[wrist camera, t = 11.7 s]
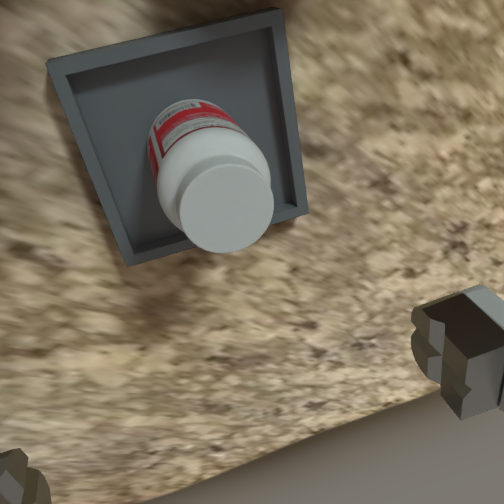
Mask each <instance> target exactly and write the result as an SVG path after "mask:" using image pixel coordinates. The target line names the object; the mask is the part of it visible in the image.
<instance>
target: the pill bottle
mask: <svg viewBox="0 0 504 504" xmlns="http://www.w3.org/2000/svg"><path fill="white" fill-rule="evenodd" d="M147 150H148V157H149V161H150V165H151V169H152V174H153V178H154V182H155V187H156V191H157V196H158V199H159V202H160V205H161V207H162V209H163V211H164V213H165V214H166V216H167V217H168V219H169V220H170V221H171V222H172V223H173V224H174V225H175V226H176V227H177V228H179V229H180V230H182V231H183V232H184V233H185V234H186V236H187V237H188V238H189V239H190V240H191V241H192V242H193V243H194V244H195V245H197V246H198V247H200V248H202V249H204V250H206V251H209V252H213V253H232V252H236V251H239V250H242V249H244V248H246V247H248V246H250V245H251V244H253V243H254V242H255V241H257V240H258V239H259V238H260V237H261V236H262V235H263V233H264V232H265V231H266V229H267V228H268V226H269V224H270V222H271V219H272V215H273V210H274V199H273V194H272V191H271V188H270V187H271V177H270V170H269V167H268V164H267V161H266V159H265V157H264V155H263V153H262V152H261V150H260V149H259V148H258V147H257V145H256V144H255V143H254V142H253V141H252V140H251V139H250V138H249V136H248V135H247V134H246V133H245V132H244V131H243V130H242V129H241V128H240V127H239V126H238V125H237V123H236V122H235V121H234V120H233V119H232V118H231V117H230V116H229V115H228V114H227V113H226V112H225V111H224V110H222V109H221V108H220V107H218V106H217V105H215V104H213V103H211V102H208V101H204V100H199V99H188V100H182V101H179V102H176V103H174V104H172V105H170V106H169V107H167V108H166V109H164V110H163V111H162V112H161V113H160V114H159V115H158V116H157V118H156V119H155V121H154V122H153V124H152V126H151V128H150V131H149V135H148V141H147Z"/></svg>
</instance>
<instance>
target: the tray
mask: <svg viewBox="0 0 504 504" xmlns="http://www.w3.org/2000/svg"><path fill="white" fill-rule="evenodd" d="M45 65H46V67H47V70H48V72H49V75H50V77H51V80H52V82H53V85H54V87H55V90H56V92H57V95H58V97H59V100H60V102H61V105H62V107H63V110H64V112H65V115H66V117H67V120H68V122H69V125H70V127H71V130H72V132H73V135H74V137H75V140H76V142H77V145H78V147H79V150H80V152H81V155H82V157H83V160H84V162H85V165H86V167H87V170H88V172H89V175H90V177H91V180H92V182H93V184H94V187H95V189H96V192H97V194H98V197H99V199H100V202H101V204H102V207H103V209H104V212H105V214H106V217H107V219H108V222H109V224H110V227H111V229H112V232H113V234H114V237H115V239H116V242H117V244H118V247H119V249H120V252H121V254H122V257H123V259H124V262H125V264H126V267H129V266H133V265H136V264H140V263H143V262H146V261H150V260H153V259H157V258H160V257H163V256H167V255H170V254H173V253H177V252H180V251H184V250H187V249H190V248H194V247H197V245H195V244H194V243H193V242H192V241H191V240H190V239H189V238H188V237H187V236H186V234H185V233H184V232H183V231H182V230H180V229H179V228H177V227H176V226H175V225H174V224H173V223H172V222H171V221H170V220H169V219H168V217H167V216H166V214H165V213H164V211H163V209H162V207H161V205H160V202H159V199H158V196H157V191H156V187H155V182H154V178H153V174H152V169H151V165H150V161H149V157H148V150H147V141H148V135H149V131H150V128H151V126H152V124H153V122H154V121H155V119H156V118H157V116H158V115H159V114H160V113H161V112H162V111H163V110H164V109H166V108H167V107H169V106H170V105H172V104H174V103H176V102H179V101H182V100H188V99H199V100H204V101H208V102H211V103H213V104H215V105H217V106H218V107H220V108H221V109H222V110H224V111H225V112H226V113H227V114H228V115H229V116H230V117H231V118H232V119H233V120H234V121H235V122H236V123H237V125H238V126H239V127H240V128H241V129H242V130H243V131H244V132H245V133H246V134H247V135H248V136H249V138H250V139H251V140H252V141H253V142H254V143H255V144H256V145H257V147H258V148H259V149H260V150H261V152H262V153H263V155H264V157H265V159H266V161H267V164H268V167H269V170H270V177H271V187H270V188H271V191H272V194H273V199H274V210H273V215H272V219H271V222H270V224H269V225H272V224H275V223H278V222H282V221H285V220H289V219H292V218H295V217H299V216H302V215H306V214H309V211H308V203H307V195H306V187H305V180H304V172H303V164H302V156H301V148H300V141H299V133H298V125H297V117H296V109H295V102H294V94H293V86H292V78H291V70H290V62H289V55H288V47H287V39H286V31H285V23H284V16H283V8H277V7H271V8H267V9H263V10H259V11H254V12H250V13H246V14H241V15H237V16H233V17H228V18H224V19H220V20H216V21H211V22H207V23H203V24H198V25H194V26H190V27H185V28H181V29H177V30H173V31H168V32H164V33H160V34H155V35H151V36H147V37H142V38H138V39H134V40H130V41H125V42H121V43H117V44H112V45H108V46H104V47H100V48H95V49H91V50H87V51H82V52H78V53H74V54H69V55H65V56H61V57H57V58H52V59H49V60H48V61H47V62H46V63H45Z"/></svg>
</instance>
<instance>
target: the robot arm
mask: <svg viewBox="0 0 504 504" xmlns="http://www.w3.org/2000/svg"><path fill="white" fill-rule="evenodd" d="M411 322H412V323H413V324H414V326H415V327H416V330H415V331H414V333H413V334H412V336H411V349H412V352H413V355H414V358H415V361H416V362H417V364H418V366H419V368H420V369H421V371H422V372H423V373H424V375H425V376H426V377H427V378H428V379H430V380H432V381H435V382H437V383H439V384H440V395H441V396H442V397H443V399H444V400H445V401H446V403H447V404H448V405H449V406H450V408H451V409H452V410H453V411H454V413H455V414H456V415H457V417H458V418H459V419H460V420H463V419H466V418H469V417H471V416H474V415H477V414H480V413H483V412H485V411H488V410H491V409H494V408H497V407H499V409H500V410H502V411H504V301H503V300H502V299H501V298H499V297H498V296H497V295H496V294H495V293H493V292H492V291H491V290H490V289H489V288H487V287H486V286H484V285H481V284H479V285H476V286H473V287H470V288H467V289H465V290H462V291H459V292H457V293H453V294H450V295H447V296H444V297H442V298H439V299H436V300H433V301H431V302H428V303H425V304H422V305H420V306H417V307H414V309H413V311H412V313H411ZM27 465H28V456H27V455H26V454H25V453H24V452H23V451H22V450H21V449H20V448H17V449H12V450H9V451H6V452H3V453H0V504H52V502H51V495H50V488H49V486H48V483H47V481H46V479H45V477H44V476H43V474H42V473H41V472H40V471H39V470H37V469H33V468H29V467H27Z"/></svg>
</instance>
